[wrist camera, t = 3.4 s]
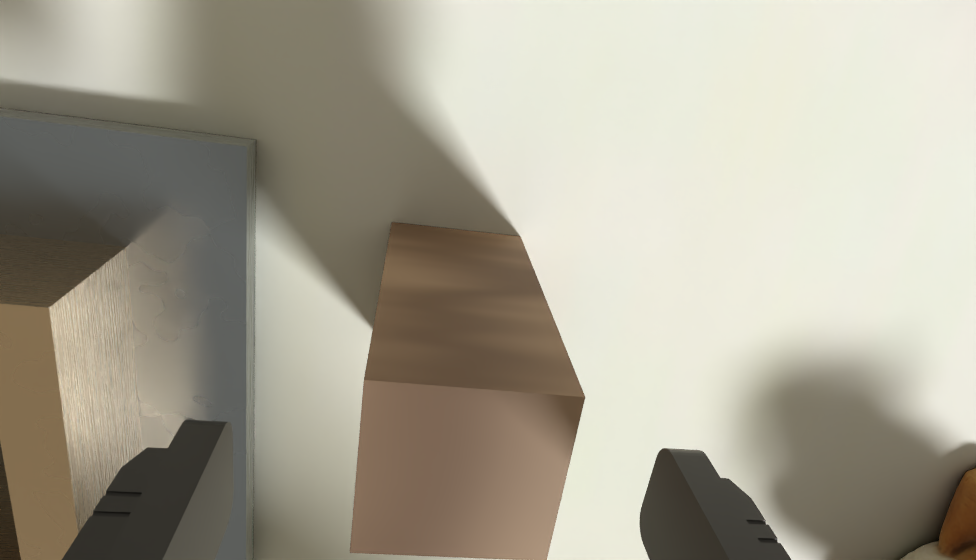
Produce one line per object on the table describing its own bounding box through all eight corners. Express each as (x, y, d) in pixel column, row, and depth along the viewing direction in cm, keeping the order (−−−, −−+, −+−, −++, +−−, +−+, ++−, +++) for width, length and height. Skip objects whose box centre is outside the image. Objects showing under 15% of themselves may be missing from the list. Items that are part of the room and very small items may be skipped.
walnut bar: (520, 236, 20) (585, 396, 12) (501, 348, 21) (546, 560, 13) (391, 222, 19) (364, 379, 11) (381, 337, 21) (349, 552, 13)
